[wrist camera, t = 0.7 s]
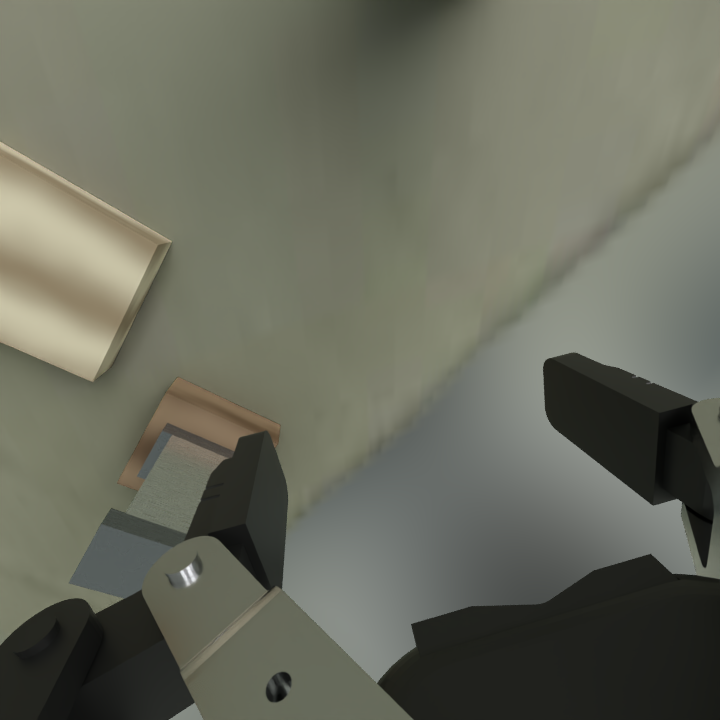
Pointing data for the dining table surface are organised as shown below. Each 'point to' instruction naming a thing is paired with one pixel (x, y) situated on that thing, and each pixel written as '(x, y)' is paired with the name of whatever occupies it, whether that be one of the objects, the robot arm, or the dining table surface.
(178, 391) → the walnut stand
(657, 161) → the dining table surface
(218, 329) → the dining table surface
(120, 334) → the cream slab
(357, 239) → the dining table surface
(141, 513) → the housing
